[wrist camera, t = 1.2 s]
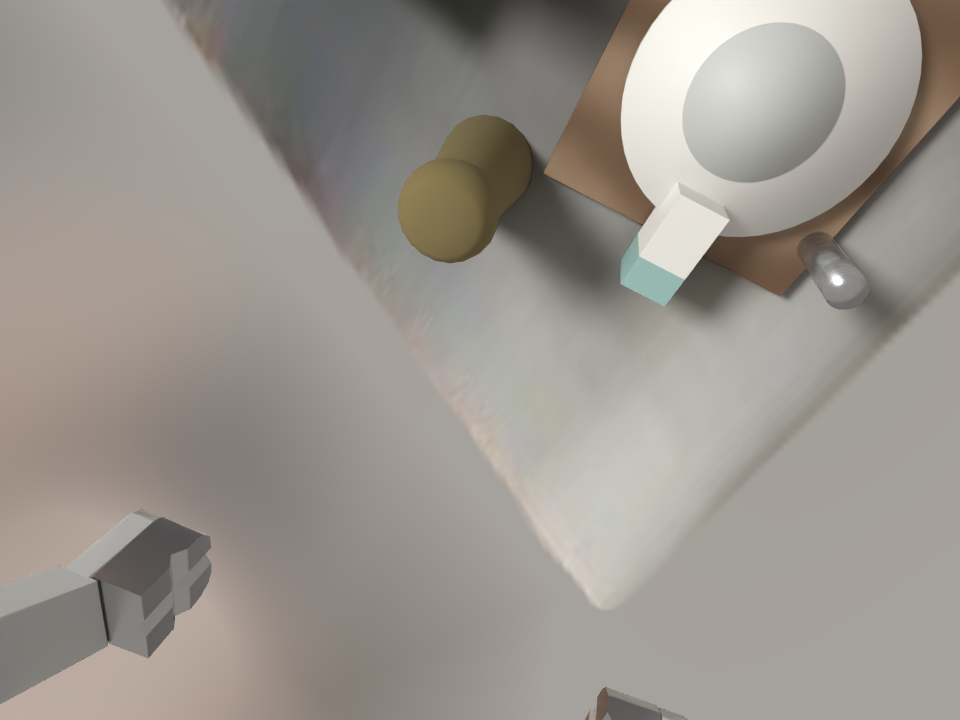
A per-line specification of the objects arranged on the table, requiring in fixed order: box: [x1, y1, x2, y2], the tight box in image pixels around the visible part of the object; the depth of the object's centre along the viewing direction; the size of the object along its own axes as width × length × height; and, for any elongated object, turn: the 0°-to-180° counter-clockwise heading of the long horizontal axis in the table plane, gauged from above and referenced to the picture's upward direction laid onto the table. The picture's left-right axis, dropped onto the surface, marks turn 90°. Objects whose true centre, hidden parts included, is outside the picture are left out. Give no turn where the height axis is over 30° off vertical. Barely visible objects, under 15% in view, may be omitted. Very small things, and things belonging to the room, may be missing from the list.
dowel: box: [797, 232, 870, 309], centre depth 32 cm, size 2×2×7 cm
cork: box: [398, 115, 533, 263], centre depth 32 cm, size 6×6×11 cm
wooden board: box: [543, 0, 960, 297], centre depth 31 cm, size 17×17×1 cm
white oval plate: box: [620, 0, 922, 307], centre depth 30 cm, size 18×14×4 cm
